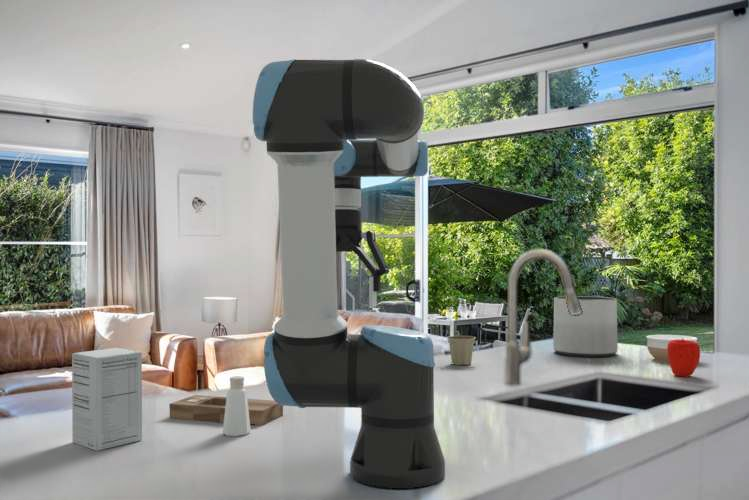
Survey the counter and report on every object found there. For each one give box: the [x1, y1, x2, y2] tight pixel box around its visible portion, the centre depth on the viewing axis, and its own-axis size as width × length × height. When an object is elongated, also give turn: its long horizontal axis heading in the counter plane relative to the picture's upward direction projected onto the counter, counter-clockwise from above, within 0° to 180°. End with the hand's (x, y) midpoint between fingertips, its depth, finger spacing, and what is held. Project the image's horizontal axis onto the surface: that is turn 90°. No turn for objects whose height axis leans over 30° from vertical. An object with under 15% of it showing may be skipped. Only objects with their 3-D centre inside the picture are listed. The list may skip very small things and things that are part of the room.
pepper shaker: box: [222, 375, 252, 437], centre depth 136 cm, size 5×5×11 cm
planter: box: [552, 295, 618, 358], centre depth 249 cm, size 22×22×20 cm
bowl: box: [645, 334, 698, 363], centre depth 233 cm, size 16×16×8 cm
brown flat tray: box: [169, 394, 284, 426], centre depth 150 cm, size 10×22×3 cm, turn 72°
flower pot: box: [446, 335, 477, 366], centre depth 224 cm, size 9×9×9 cm
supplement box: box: [71, 347, 143, 452], centre depth 130 cm, size 10×9×17 cm
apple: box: [667, 339, 701, 378], centre depth 203 cm, size 9×9×11 cm
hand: (343, 306), depth 152 cm, fingers open, 13 cm apart
